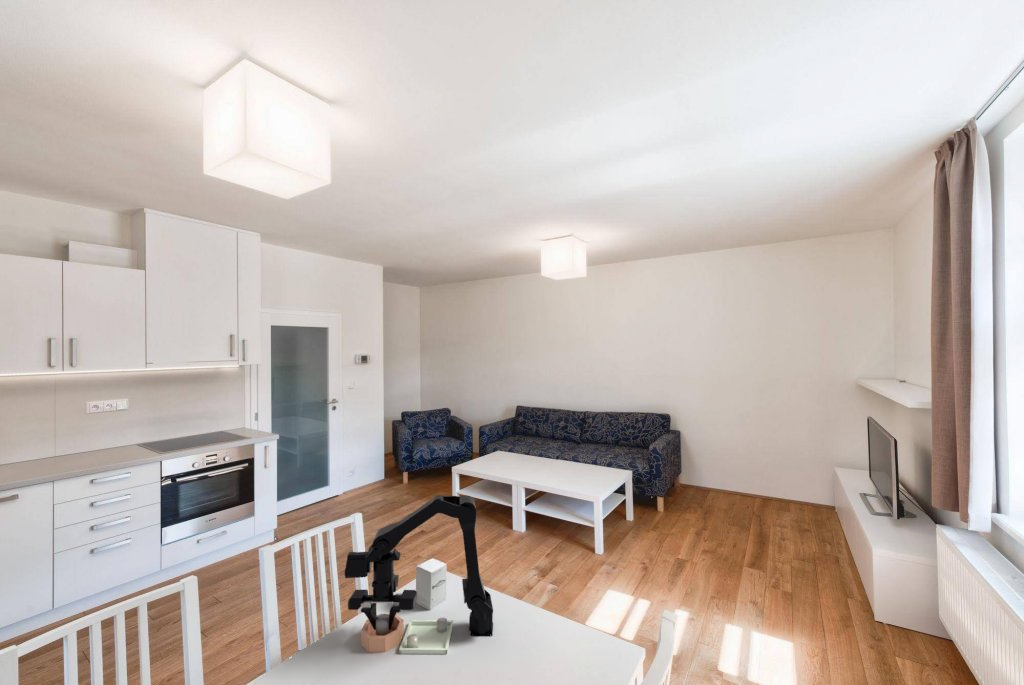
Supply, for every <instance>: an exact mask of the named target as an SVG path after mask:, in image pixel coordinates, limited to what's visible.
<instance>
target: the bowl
mask: <svg viewBox="0 0 1024 685" xmlns="http://www.w3.org/2000/svg"><path fill="white" fill-rule="evenodd" d="M381 614H382V613H379V614H377V616H378V615H381ZM404 622H405V621H404V619H403V618H402V617H401V616H400V615H398V613H396V615H395V619H394V622H393V625H392V628H391V630H390V632H389V634H387V635H385V636H377V635H376V630H374V629H373V627H372V625H371V623H370V621H369V619H368V618H367V619H366V620H365V622H364V624H363V626H362V627H361V632H360V644H361V646H362V647H363V648H364V649H365V650H366V651H367V652H368V653H387V652H388V651H390V650H391V649H393V648H395V647H397V646H399V645H401V643H402V640H403V638H404V635H405V633H404V631H405V630H404V629H405V628H404V624H405V623H404Z"/></svg>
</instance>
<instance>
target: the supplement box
mask: <svg viewBox="0 0 1024 685" xmlns="http://www.w3.org/2000/svg"><path fill="white" fill-rule="evenodd" d="M415 571H416V572H415V590H416V592H417V601H416V603H415V604H417V605H418V606H421V607H423V608H424V609H425V610H426V609H427V610H429V611H432V610H434V609H435V608H436V607H438V606H440V605H441V604H443V603H444V602H446V601H447V563H445V562H442V561H440V560H438V559H436V558H433V557H432V558H430V559H428V560H426V561H424V562H422V563H420V564H418V565H416V568H415Z"/></svg>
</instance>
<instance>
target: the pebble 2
mask: <svg viewBox="0 0 1024 685" xmlns="http://www.w3.org/2000/svg"><path fill="white" fill-rule="evenodd" d="M436 620H437V631H438V632H439V633H443V632H445V631H446V630H447V620H448V619H447V618H446V617H439V618H437V619H436Z"/></svg>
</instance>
